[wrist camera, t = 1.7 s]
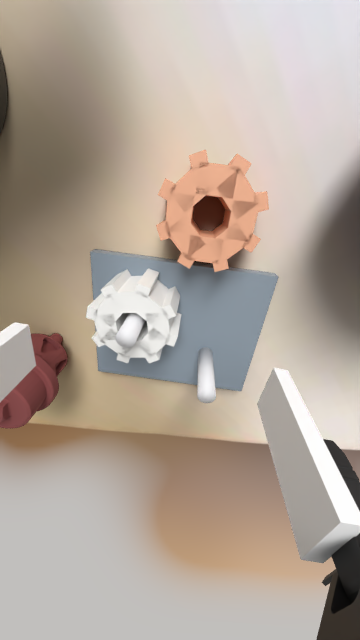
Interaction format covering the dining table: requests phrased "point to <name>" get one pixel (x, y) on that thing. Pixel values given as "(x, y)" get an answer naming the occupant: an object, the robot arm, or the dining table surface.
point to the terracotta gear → (237, 216)
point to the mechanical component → (35, 382)
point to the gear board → (192, 321)
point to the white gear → (145, 301)
